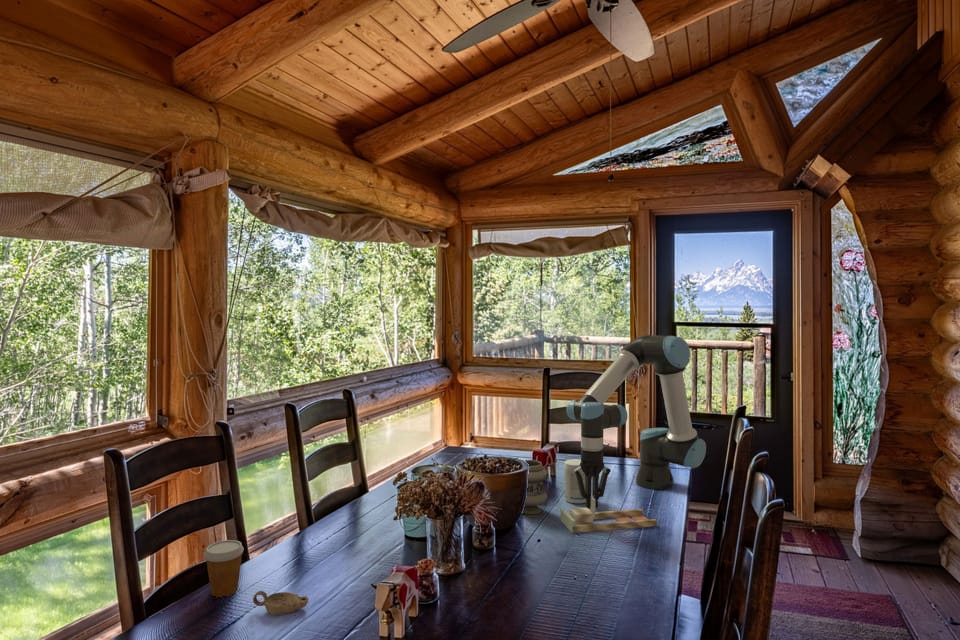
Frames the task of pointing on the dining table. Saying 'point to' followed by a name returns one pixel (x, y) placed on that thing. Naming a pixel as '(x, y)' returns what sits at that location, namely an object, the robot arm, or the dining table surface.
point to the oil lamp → (281, 602)
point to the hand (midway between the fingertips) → (591, 517)
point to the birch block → (581, 516)
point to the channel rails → (616, 524)
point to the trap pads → (639, 517)
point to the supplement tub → (572, 482)
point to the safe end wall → (567, 520)
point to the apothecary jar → (535, 489)
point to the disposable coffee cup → (224, 566)
